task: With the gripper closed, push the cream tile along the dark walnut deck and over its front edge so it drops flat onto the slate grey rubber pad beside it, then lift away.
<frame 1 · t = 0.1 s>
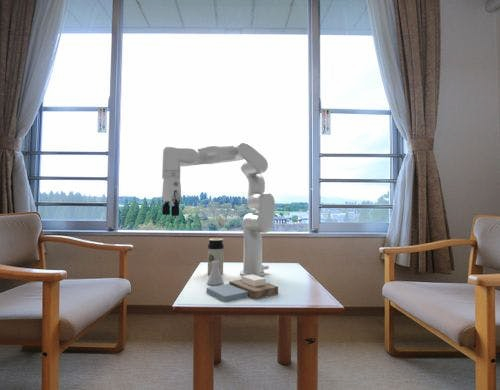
hand: (170, 215, 133), 31 cm above the table, tool pointing down, fingers open, 9 cm apart
tile: (253, 283, 131), point 3 cm above the table, touching deck
travel mug: (215, 274, 160), on the table
deck: (252, 291, 130), on the table
mat: (226, 294, 124), on the table
flask: (215, 284, 141), on the table
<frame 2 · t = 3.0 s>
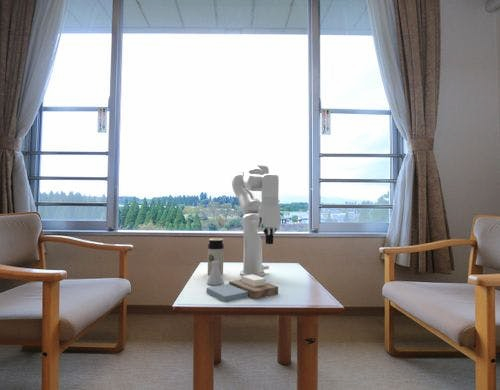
hand: (269, 243, 136), 19 cm above the table, tool pointing down, fingers closed
nothing on the table moved.
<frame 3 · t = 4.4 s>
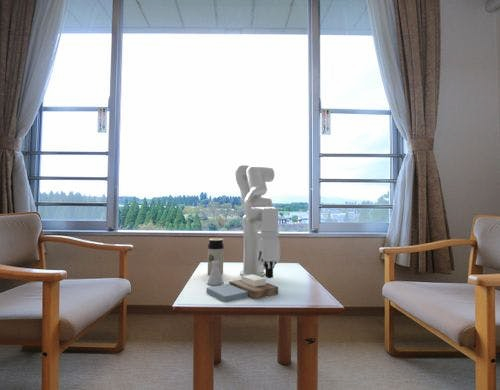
hand: (269, 277, 136), 4 cm above the table, tool pointing down, fingers closed
nothing on the table moved.
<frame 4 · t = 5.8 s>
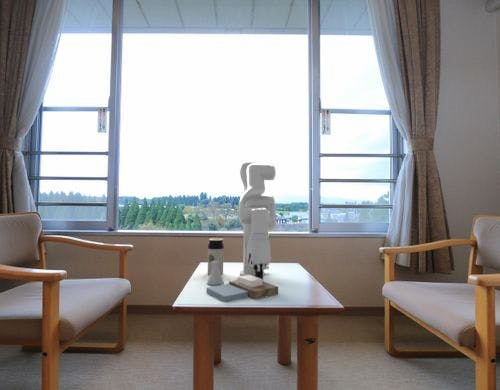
hand: (259, 279, 133), 4 cm above the table, tool pointing down, fingers closed
tile: (250, 283, 130), point 3 cm above the table, touching gripper
everything else where it was.
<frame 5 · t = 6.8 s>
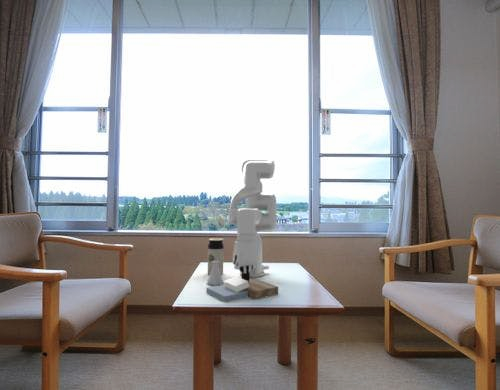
hand: (245, 282, 128), 4 cm above the table, tool pointing down, fingers closed
tile: (236, 287, 126), point 3 cm above the table, tilted 12°, touching deck
everything else where it was.
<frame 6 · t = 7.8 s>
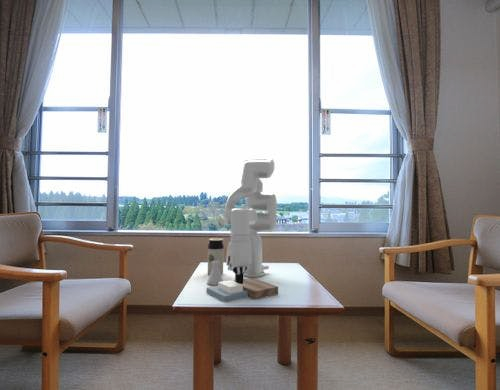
hand: (239, 283, 127), 4 cm above the table, tool pointing down, fingers closed
tile: (230, 289, 124), point 2 cm above the table, touching gripper, mat
everything else where it was.
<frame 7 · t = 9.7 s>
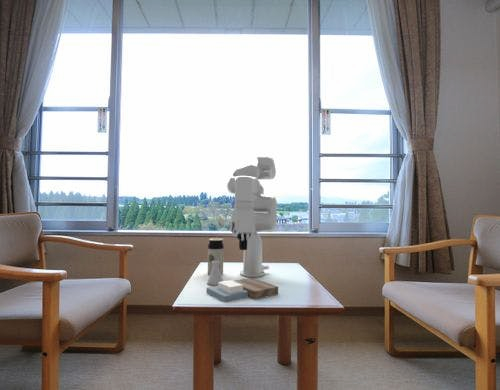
hand: (243, 249, 129), 17 cm above the table, tool pointing down, fingers closed
tile: (230, 289, 124), point 2 cm above the table, touching mat
everything else where it was.
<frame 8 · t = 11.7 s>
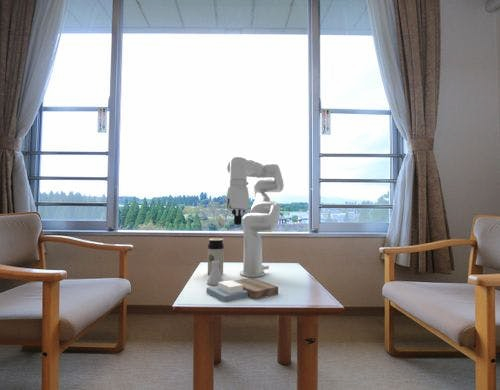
hand: (237, 224, 140), 27 cm above the table, tool pointing down, fingers closed
nothing on the table moved.
at the end: tile inside the target area on the mat (1.4 cm from its centre), point 2.0 cm above the mat's base; tile tilted 0° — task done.
